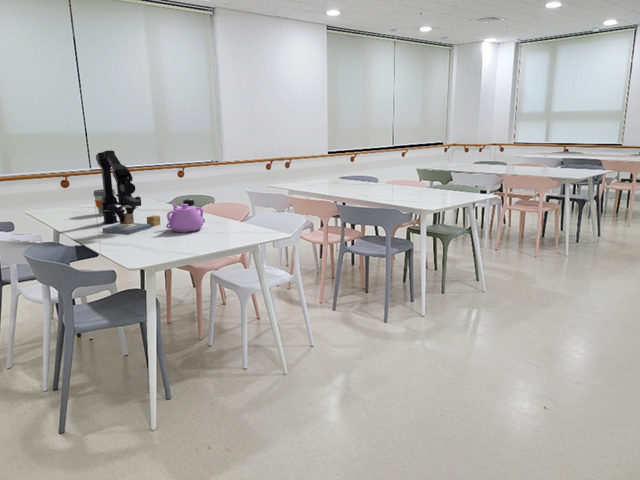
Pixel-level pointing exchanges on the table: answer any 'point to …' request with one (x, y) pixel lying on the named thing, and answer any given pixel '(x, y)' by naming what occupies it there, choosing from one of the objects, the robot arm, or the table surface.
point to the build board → (126, 228)
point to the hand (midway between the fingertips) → (126, 221)
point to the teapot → (185, 218)
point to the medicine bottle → (189, 203)
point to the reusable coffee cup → (98, 197)
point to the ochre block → (153, 220)
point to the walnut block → (127, 219)
